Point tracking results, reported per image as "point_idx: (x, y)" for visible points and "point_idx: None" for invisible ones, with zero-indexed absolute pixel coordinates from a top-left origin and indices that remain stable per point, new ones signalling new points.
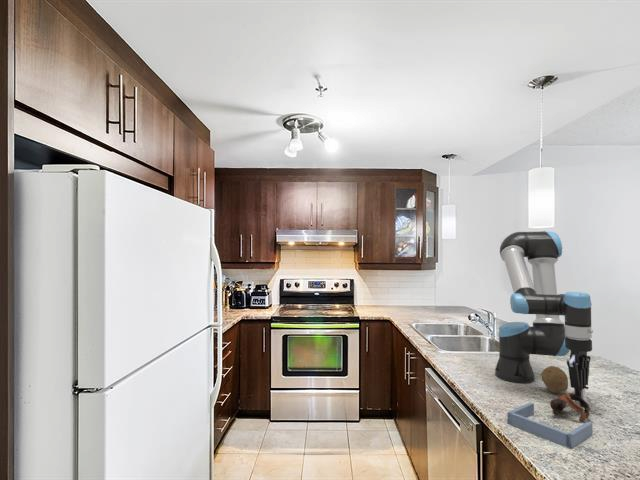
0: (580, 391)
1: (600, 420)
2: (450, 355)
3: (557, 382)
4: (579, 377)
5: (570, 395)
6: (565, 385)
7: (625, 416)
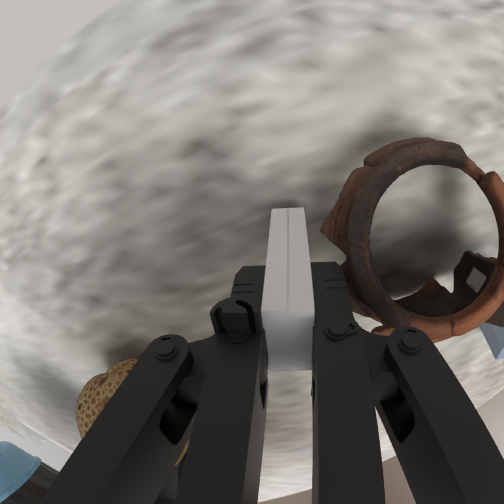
0: (332, 311)
1: (311, 92)
2: None
3: None
4: (376, 467)
5: (423, 316)
6: None
7: (91, 63)
